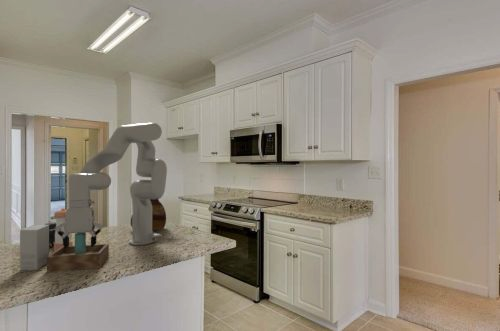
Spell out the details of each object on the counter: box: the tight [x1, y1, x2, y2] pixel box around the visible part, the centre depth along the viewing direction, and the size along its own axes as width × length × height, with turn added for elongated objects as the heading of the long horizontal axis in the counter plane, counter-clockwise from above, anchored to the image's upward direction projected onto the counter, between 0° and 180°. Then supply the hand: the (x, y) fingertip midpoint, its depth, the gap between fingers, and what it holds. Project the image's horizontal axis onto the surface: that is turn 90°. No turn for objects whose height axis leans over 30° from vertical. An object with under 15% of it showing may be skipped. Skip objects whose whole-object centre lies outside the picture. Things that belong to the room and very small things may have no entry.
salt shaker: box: [53, 208, 74, 252], centre depth 136 cm, size 7×7×19 cm
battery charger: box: [43, 221, 56, 249], centre depth 141 cm, size 7×4×11 cm, turn 140°
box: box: [46, 243, 110, 273], centre depth 118 cm, size 18×14×6 cm
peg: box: [74, 233, 87, 254], centre depth 118 cm, size 4×4×12 cm
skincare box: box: [19, 224, 50, 271], centre depth 114 cm, size 8×7×16 cm
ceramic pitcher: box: [130, 199, 167, 232], centre depth 175 cm, size 20×20×30 cm
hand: (79, 246), depth 118 cm, fingers open, 9 cm apart
